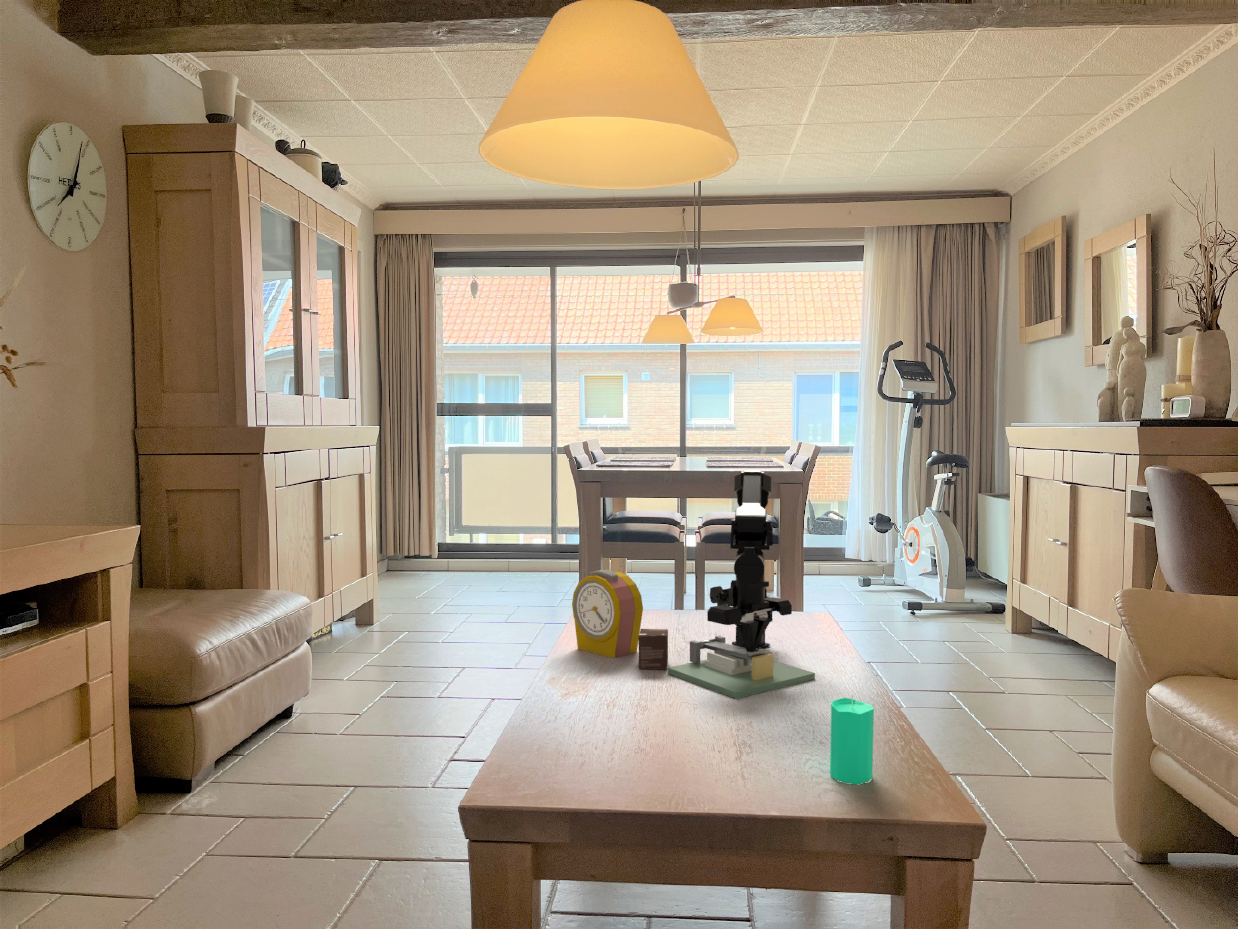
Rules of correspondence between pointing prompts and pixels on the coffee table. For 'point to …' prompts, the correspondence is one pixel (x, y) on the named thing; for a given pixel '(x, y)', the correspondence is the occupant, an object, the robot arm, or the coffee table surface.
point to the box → (653, 649)
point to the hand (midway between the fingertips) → (750, 653)
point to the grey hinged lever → (731, 649)
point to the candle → (851, 741)
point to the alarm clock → (607, 613)
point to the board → (738, 672)
